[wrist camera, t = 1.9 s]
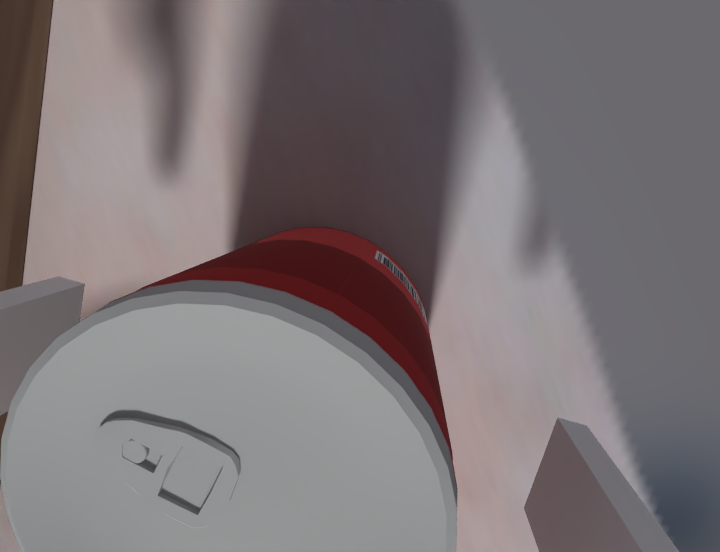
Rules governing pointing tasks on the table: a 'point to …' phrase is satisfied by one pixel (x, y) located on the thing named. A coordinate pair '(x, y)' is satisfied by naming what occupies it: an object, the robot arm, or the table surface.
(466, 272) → the table surface
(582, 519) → the robot arm
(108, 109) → the table surface
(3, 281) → the caddy
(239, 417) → the canned food
